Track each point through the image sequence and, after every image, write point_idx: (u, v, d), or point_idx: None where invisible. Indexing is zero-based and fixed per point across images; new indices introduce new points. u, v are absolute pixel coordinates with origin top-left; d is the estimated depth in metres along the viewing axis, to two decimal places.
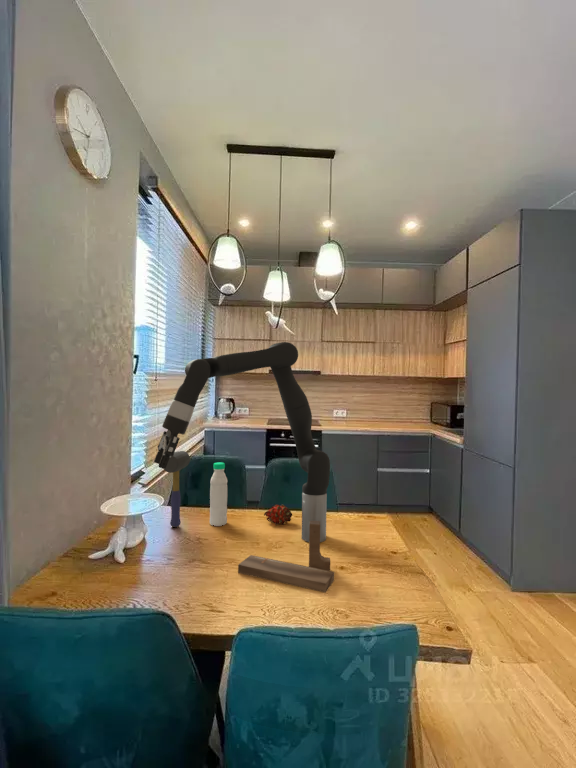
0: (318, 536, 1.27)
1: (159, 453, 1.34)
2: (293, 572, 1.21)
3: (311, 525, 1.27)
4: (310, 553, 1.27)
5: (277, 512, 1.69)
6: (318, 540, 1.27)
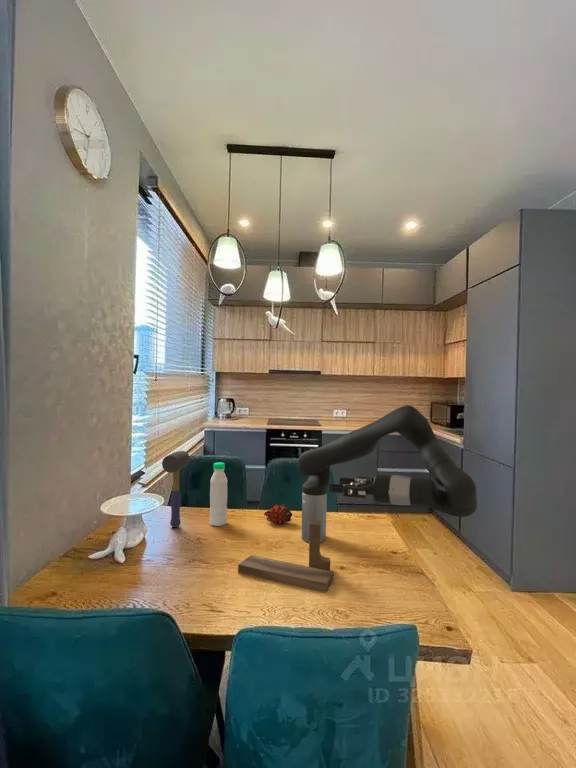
0: (318, 536, 1.27)
1: None
2: (293, 572, 1.21)
3: (311, 525, 1.27)
4: (310, 553, 1.27)
5: (277, 512, 1.69)
6: (318, 540, 1.27)
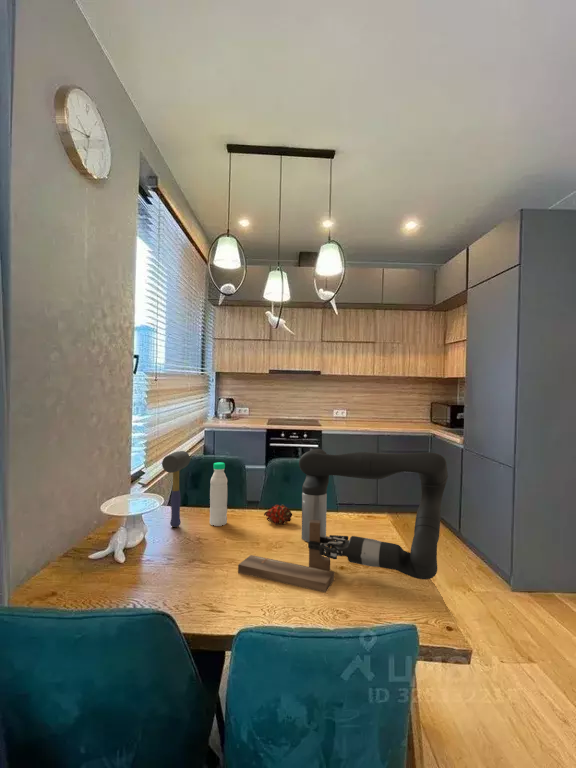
0: (318, 535, 1.27)
1: None
2: (293, 572, 1.21)
3: (311, 524, 1.28)
4: (310, 552, 1.27)
5: (277, 512, 1.69)
6: (318, 539, 1.27)
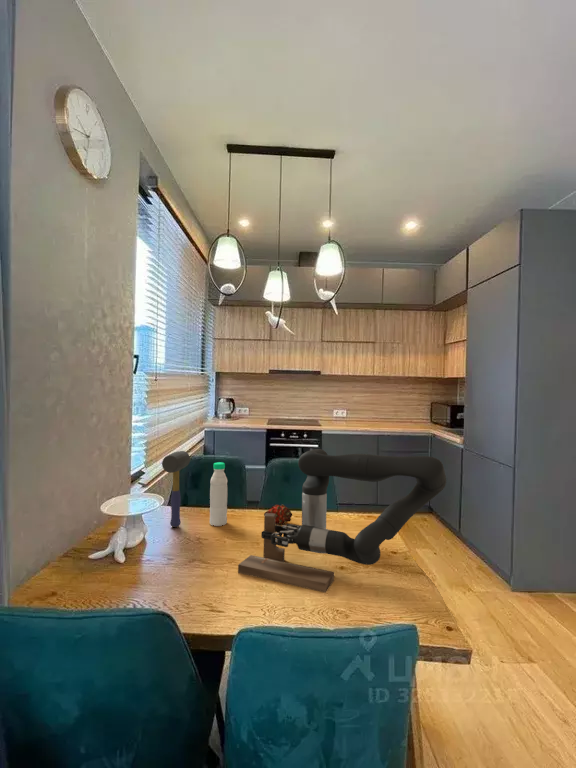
0: (272, 527, 1.34)
1: None
2: (293, 572, 1.21)
3: (266, 517, 1.34)
4: (265, 543, 1.34)
5: (277, 512, 1.69)
6: (272, 531, 1.34)
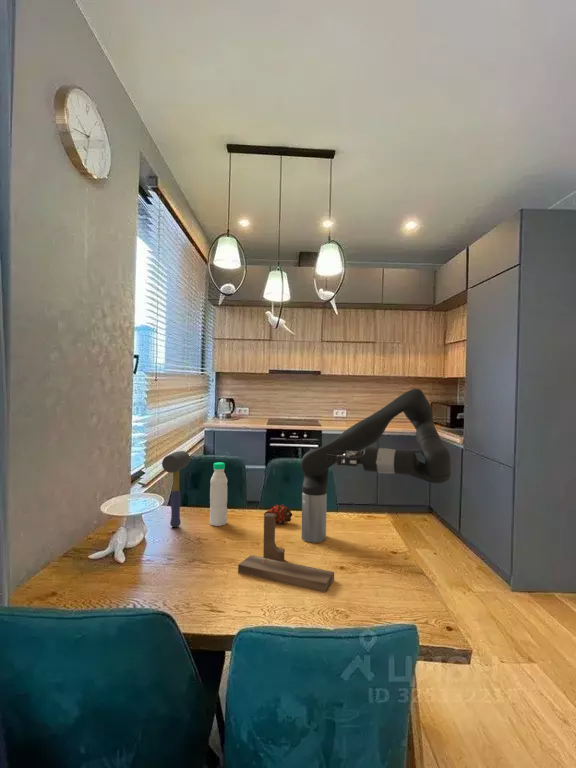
0: (272, 527, 1.34)
1: None
2: (293, 572, 1.21)
3: (265, 517, 1.34)
4: (264, 543, 1.34)
5: (277, 512, 1.69)
6: (272, 531, 1.34)
